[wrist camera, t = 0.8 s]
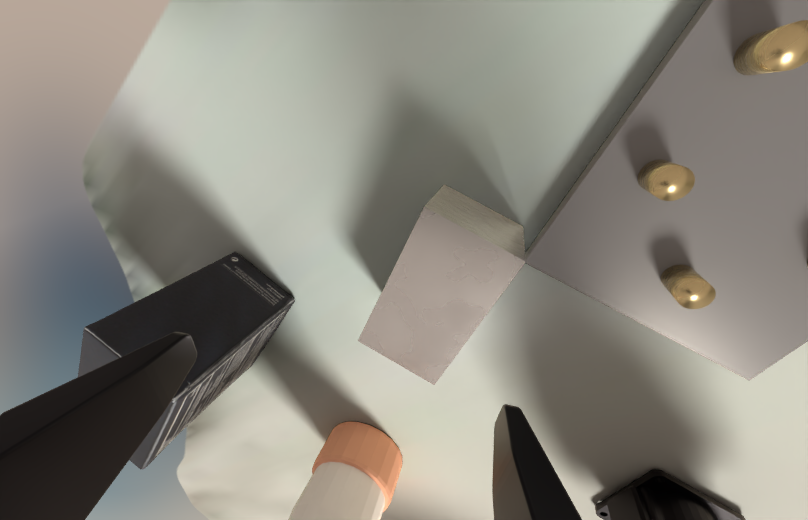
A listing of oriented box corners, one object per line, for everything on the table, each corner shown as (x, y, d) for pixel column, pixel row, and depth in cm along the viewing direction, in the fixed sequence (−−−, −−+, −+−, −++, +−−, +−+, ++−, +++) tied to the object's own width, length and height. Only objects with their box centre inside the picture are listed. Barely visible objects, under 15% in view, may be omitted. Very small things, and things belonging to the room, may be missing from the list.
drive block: (522, 225, 18) (525, 261, 14) (449, 332, 23) (434, 384, 19) (444, 183, 19) (424, 206, 14) (387, 297, 23) (357, 340, 19)
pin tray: (1304, -34, 9) (1588, -85, 7) (737, 367, 18) (773, 407, 16) (850, -206, 10) (958, -305, 8) (523, 255, 19) (525, 277, 17)
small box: (232, 245, 25) (74, 322, 16) (298, 298, 26) (180, 403, 16) (197, 323, 31) (63, 415, 21) (253, 366, 31) (144, 475, 22)
